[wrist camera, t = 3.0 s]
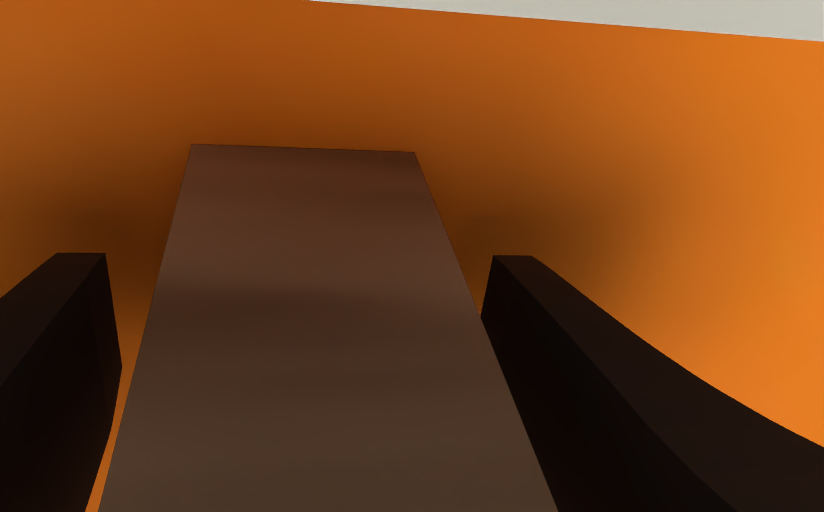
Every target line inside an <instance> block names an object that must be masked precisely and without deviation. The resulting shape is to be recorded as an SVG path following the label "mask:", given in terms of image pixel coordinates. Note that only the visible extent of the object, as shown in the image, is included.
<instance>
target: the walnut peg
mask: <svg viewBox="0 0 824 512" xmlns="http://www.w3.org/2000/svg"><path fill="white" fill-rule="evenodd" d="M98 512H558V510H557V507H556V505H555V502H554V500H553V497H552V495H551V492H550V490H549V487H548V485H547V482H546V480H545V477H544V475H543V472H542V470H541V467H540V465H539V462H538V460H537V457H536V455H535V452H534V450H533V447H532V445H531V442H530V440H529V437H528V435H527V432H526V430H525V427H524V425H523V422H522V420H521V417H520V415H519V412H518V410H517V407H516V405H515V402H514V400H513V397H512V395H511V392H510V390H509V387H508V385H507V382H506V380H505V377H504V375H503V373H502V370H501V368H500V365H499V363H498V360H497V358H496V355H495V353H494V350H493V348H492V345H491V343H490V340H489V338H488V335H487V333H486V330H485V328H484V325H483V323H482V320H481V318H480V315H479V313H478V310H477V308H476V305H475V303H474V300H473V298H472V295H471V293H470V290H469V288H468V285H467V283H466V280H465V278H464V275H463V273H462V270H461V268H460V265H459V263H458V260H457V258H456V255H455V253H454V250H453V248H452V245H451V243H450V240H449V238H448V235H447V233H446V230H445V228H444V225H443V223H442V220H441V218H440V215H439V213H438V210H437V208H436V205H435V203H434V200H433V198H432V195H431V193H430V190H429V188H428V185H427V183H426V180H425V178H424V175H423V173H422V170H421V168H420V165H419V163H418V160H417V158H416V155H415V153H414V152H393V151H366V150H339V149H312V148H286V147H259V146H232V145H206V144H192V145H191V149H190V153H189V157H188V161H187V165H186V169H185V173H184V177H183V180H182V184H181V188H180V192H179V196H178V200H177V204H176V208H175V212H174V216H173V220H172V224H171V228H170V231H169V235H168V239H167V243H166V247H165V251H164V255H163V259H162V263H161V267H160V271H159V275H158V279H157V282H156V286H155V290H154V294H153V298H152V302H151V306H150V310H149V314H148V318H147V322H146V326H145V330H144V333H143V337H142V341H141V345H140V349H139V353H138V357H137V361H136V365H135V369H134V373H133V377H132V380H131V384H130V388H129V392H128V396H127V400H126V404H125V408H124V412H123V416H122V420H121V424H120V428H119V431H118V435H117V439H116V443H115V447H114V451H113V455H112V459H111V463H110V467H109V471H108V475H107V479H106V482H105V486H104V490H103V494H102V498H101V502H100V506H99V510H98Z"/></svg>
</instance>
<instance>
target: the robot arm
mask: <svg viewBox="0 0 824 512" xmlns="http://www.w3.org/2000/svg"><path fill="white" fill-rule="evenodd" d="M480 318H481V320H482V323H483V325H484V328H485V330H486V333H487V335H488V338H489V340H490V343H491V345H492V348H493V350H494V353H495V355H496V358H497V360H498V363H499V365H500V368H501V370H502V373H503V375H504V377H505V380H506V382H507V385H508V387H509V390H510V392H511V395H512V397H513V400H514V402H515V405H516V407H517V410H518V412H519V415H520V417H521V420H522V422H523V425H524V427H525V430H526V432H527V435H528V437H529V440H530V442H531V445H532V447H533V450H534V452H535V455H536V457H537V460H538V462H539V465H540V467H541V470H542V472H543V475H544V477H545V480H546V482H547V485H548V487H549V490H550V492H551V495H552V497H553V500H554V502H555V505H556V507H557V510H558V512H824V447H822V446H820V445H818V444H816V443H814V442H812V441H810V440H808V439H806V438H804V437H802V436H800V435H798V434H796V433H794V432H792V431H790V430H788V429H786V428H784V427H783V426H781V425H779V424H777V423H775V422H773V421H771V420H769V419H768V418H766V417H764V416H762V415H761V414H759V413H757V412H755V411H754V410H752V409H750V408H749V407H747V406H745V405H743V404H742V403H740V402H738V401H736V400H735V399H733V398H731V397H730V396H728V395H726V394H724V393H723V392H721V391H719V390H718V389H716V388H714V387H713V386H711V385H710V384H708V383H706V382H705V381H703V380H702V379H700V378H698V377H697V376H695V375H694V374H692V373H691V372H689V371H688V370H686V369H685V368H683V367H682V366H680V365H679V364H678V363H676V362H675V361H673V360H672V359H670V358H669V357H667V356H666V355H664V354H663V353H661V352H660V351H658V350H657V349H655V348H654V347H653V346H651V345H650V344H648V343H647V342H646V341H644V340H643V339H642V338H640V337H639V336H637V335H636V334H635V333H633V332H632V331H631V330H629V329H628V328H626V327H625V326H624V325H622V324H621V323H620V322H619V321H617V320H616V319H615V318H613V317H612V316H611V315H609V314H608V313H607V312H605V311H604V310H603V309H601V308H600V307H599V306H598V305H596V304H595V303H594V302H592V301H591V300H590V299H589V298H587V297H586V296H585V295H583V294H582V293H581V292H580V291H578V290H577V289H576V288H574V287H573V286H572V285H571V284H569V283H568V282H567V281H565V280H564V279H563V278H562V277H560V276H559V275H558V274H556V273H555V272H554V271H552V270H551V269H550V268H548V267H547V266H546V265H544V264H543V263H541V262H540V261H538V260H537V259H535V258H534V257H532V256H510V255H493V259H492V264H491V269H490V274H489V278H488V283H487V288H486V293H485V298H484V302H483V307H482V312H481V317H480ZM121 371H122V362H121V355H120V348H119V342H118V335H117V328H116V322H115V315H114V308H113V301H112V295H111V288H110V281H109V275H108V268H107V261H106V255H105V253H56V254H55V255H54V256H52V257H51V258H50V259H48V260H47V261H46V262H44V263H43V264H42V265H41V266H39V267H38V268H37V269H36V270H34V271H33V272H32V273H31V274H30V275H28V276H27V277H26V278H25V279H23V280H22V281H21V282H20V283H19V284H17V285H16V286H15V287H14V288H13V289H11V290H10V291H9V292H8V293H6V294H5V295H4V296H3V297H1V298H0V512H85V510H86V507H87V504H88V501H89V498H90V495H91V492H92V489H93V486H94V482H95V479H96V476H97V473H98V470H99V467H100V463H101V460H102V457H103V454H104V451H105V448H106V444H107V441H108V438H109V435H110V431H111V427H112V422H113V416H114V411H115V406H116V400H117V394H118V388H119V383H120V377H121Z"/></svg>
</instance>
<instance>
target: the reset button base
mask: <svg viewBox="0 0 824 512" xmlns="http://www.w3.org/2000/svg"><path fill="white" fill-rule="evenodd" d="M311 1H324V2H336V3H349V4H361V5H374V6H386V7H399V8H411V9H424V10H436V11H449V12H461V13H474V14H486V15H499V16H511V17H524V18H536V19H549V20H561V21H574V22H586V23H599V24H611V25H624V26H636V27H649V28H661V29H674V30H686V31H699V32H711V33H724V34H736V35H749V36H761V37H774V38H786V39H799V40H811V41H824V0H311Z"/></svg>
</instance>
